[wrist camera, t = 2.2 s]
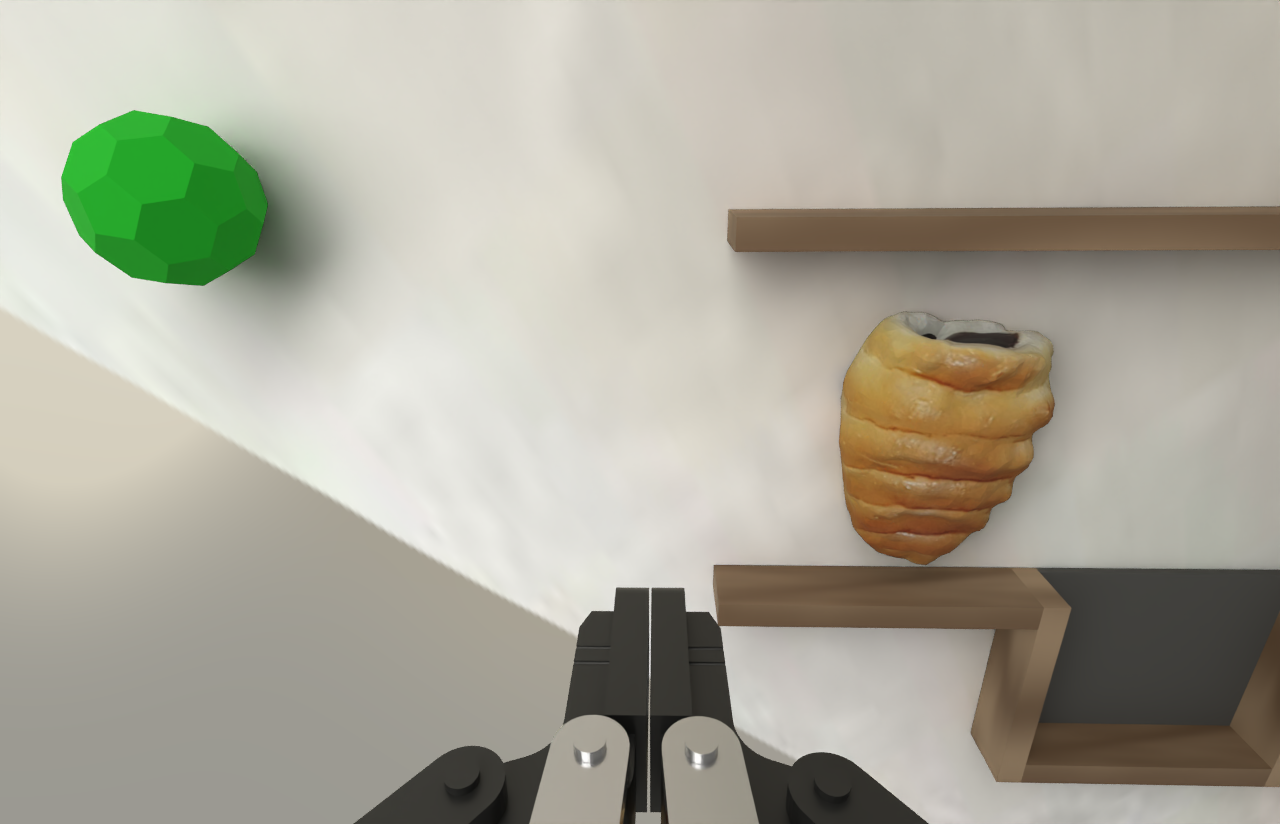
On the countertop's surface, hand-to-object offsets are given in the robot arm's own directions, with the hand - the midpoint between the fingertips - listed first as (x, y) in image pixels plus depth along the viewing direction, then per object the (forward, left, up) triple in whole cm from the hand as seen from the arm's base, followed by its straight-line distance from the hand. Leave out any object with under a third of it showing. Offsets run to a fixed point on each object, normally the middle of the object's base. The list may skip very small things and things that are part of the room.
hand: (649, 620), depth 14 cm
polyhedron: (-8, -14, -11) cm, 20 cm away
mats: (+10, +27, -11) cm, 31 cm away
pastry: (0, +10, -12) cm, 15 cm away
